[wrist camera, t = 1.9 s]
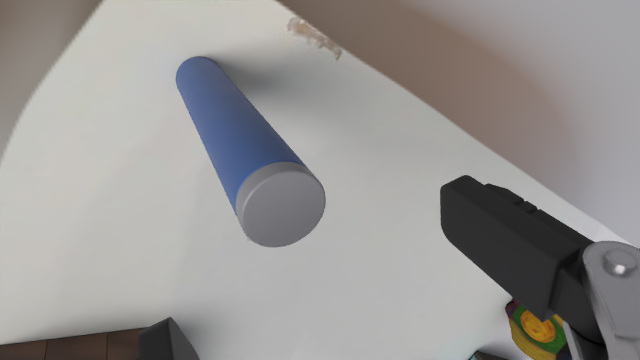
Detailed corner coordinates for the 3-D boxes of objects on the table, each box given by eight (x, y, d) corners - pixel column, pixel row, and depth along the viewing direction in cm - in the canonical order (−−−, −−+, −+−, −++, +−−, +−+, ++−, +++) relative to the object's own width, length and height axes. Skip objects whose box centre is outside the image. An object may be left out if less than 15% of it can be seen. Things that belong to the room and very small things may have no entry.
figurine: (524, 275, 59) (626, 356, 47) (545, 279, 63) (644, 355, 51) (487, 323, 62) (575, 411, 50) (510, 324, 66) (596, 406, 54)
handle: (172, 98, 25) (232, 249, 13) (179, 51, 24) (252, 167, 12) (218, 105, 27) (312, 247, 14) (227, 61, 25) (337, 174, 13)
